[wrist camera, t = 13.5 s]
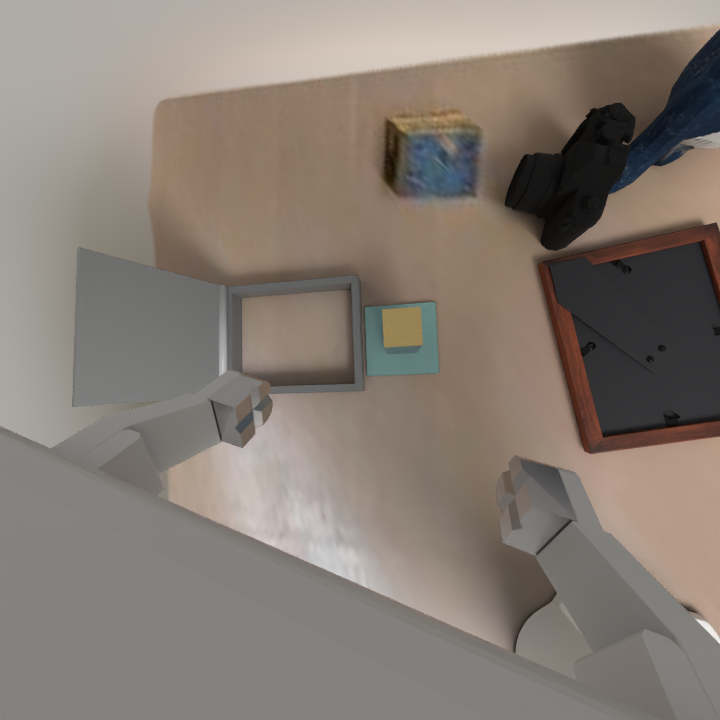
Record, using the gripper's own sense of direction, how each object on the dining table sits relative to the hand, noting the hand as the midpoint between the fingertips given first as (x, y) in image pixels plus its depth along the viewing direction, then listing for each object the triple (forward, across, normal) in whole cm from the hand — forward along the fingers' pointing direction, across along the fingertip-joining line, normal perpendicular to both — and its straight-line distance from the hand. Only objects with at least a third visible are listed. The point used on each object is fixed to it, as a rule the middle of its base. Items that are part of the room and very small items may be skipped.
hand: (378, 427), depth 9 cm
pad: (+28, +2, +11) cm, 30 cm away
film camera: (+42, -12, -8) cm, 45 cm away
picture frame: (+34, -27, +6) cm, 44 cm away
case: (+25, +21, +14) cm, 35 cm away
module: (+28, +2, +10) cm, 30 cm away
